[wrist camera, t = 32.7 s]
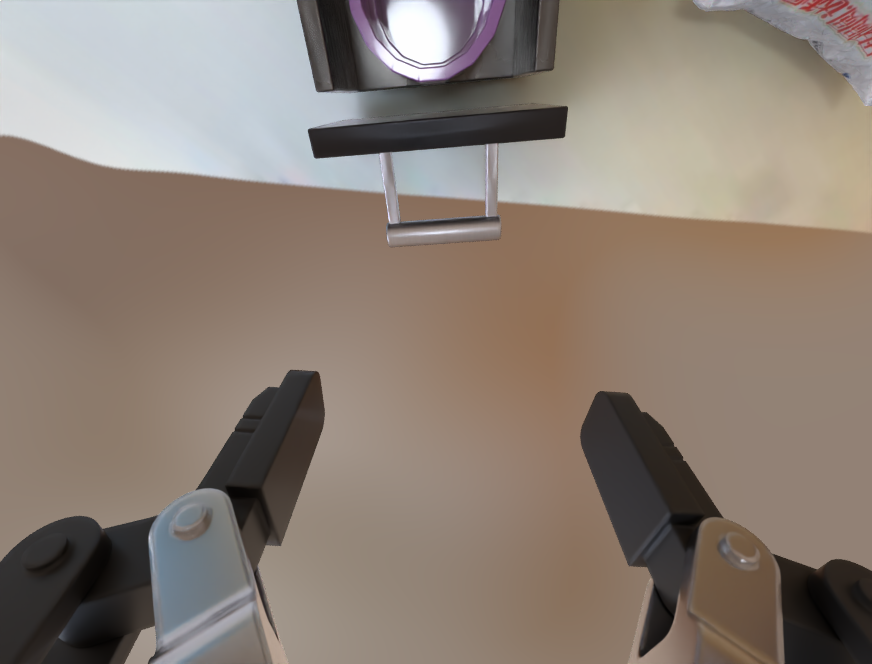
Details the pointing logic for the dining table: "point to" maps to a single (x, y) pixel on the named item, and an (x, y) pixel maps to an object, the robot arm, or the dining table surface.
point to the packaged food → (820, 31)
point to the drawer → (362, 71)
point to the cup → (427, 34)
